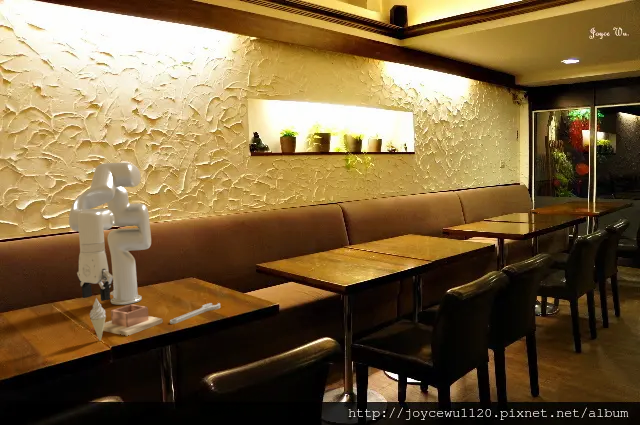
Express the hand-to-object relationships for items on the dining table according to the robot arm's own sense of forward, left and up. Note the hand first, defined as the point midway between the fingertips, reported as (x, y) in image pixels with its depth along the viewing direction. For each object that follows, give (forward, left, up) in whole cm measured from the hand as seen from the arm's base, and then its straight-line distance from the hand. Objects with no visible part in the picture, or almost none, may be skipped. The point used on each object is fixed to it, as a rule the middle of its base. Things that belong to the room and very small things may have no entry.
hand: (96, 298), depth 171 cm
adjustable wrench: (+8, +37, -15) cm, 41 cm away
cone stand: (-3, +15, -15) cm, 22 cm away
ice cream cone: (0, 0, -15) cm, 15 cm away
